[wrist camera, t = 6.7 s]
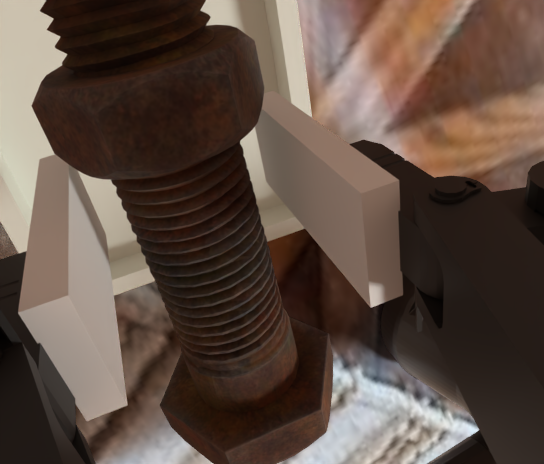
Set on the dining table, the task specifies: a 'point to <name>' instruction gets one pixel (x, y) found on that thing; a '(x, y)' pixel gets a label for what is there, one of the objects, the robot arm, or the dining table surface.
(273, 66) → the tray
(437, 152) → the dining table surface
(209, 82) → the bolt
